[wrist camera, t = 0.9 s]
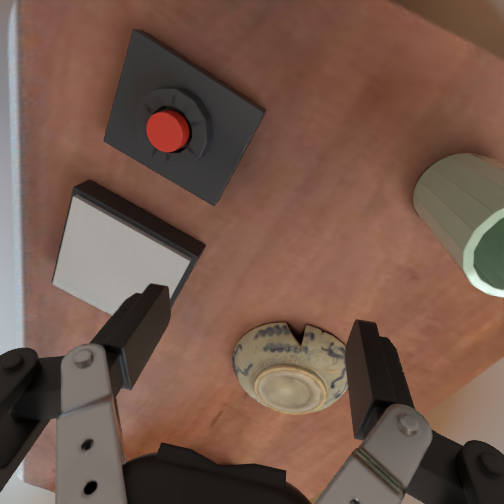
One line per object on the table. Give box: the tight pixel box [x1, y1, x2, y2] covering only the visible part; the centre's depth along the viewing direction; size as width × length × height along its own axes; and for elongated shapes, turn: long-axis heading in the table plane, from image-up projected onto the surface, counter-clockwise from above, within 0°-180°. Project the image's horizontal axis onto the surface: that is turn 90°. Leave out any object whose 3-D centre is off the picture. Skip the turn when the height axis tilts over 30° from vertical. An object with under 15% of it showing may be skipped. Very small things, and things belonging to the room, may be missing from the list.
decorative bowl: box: [232, 322, 348, 415], centre depth 37 cm, size 15×4×15 cm
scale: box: [52, 180, 205, 316], centre depth 33 cm, size 13×13×3 cm
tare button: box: [146, 110, 189, 152], centre depth 23 cm, size 3×3×2 cm
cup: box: [413, 153, 504, 298], centre depth 21 cm, size 6×6×10 cm
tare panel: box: [104, 29, 266, 206], centre depth 25 cm, size 11×9×3 cm
